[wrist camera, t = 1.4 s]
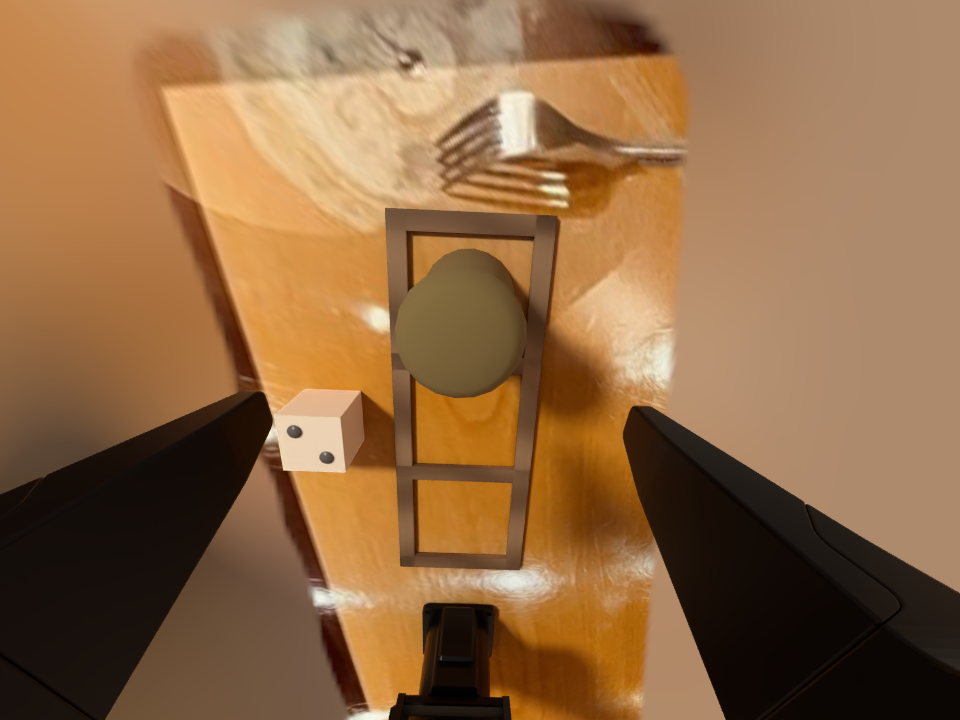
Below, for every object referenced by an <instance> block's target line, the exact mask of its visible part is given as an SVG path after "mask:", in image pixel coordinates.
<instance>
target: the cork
mask: <svg viewBox="0 0 960 720" xmlns="http://www.w3.org/2000/svg"><path fill="white" fill-rule="evenodd" d="M395 335H396V342H397V350H398V353H399V355H400V357H401V360H402V362H403V364H404V366H405V368H406V370H407V371H408V372H409V373H410V374H411V375H412V376H413V377H414V378H415V379H416V380H417V382H418V383H419V384H421V385H423V386H424V387H426V388H428V389H430V390H431V391H433V392H435V393H437V394H441V395H445V396H449V397H453V398H467V397H476V396H479V395H482V394H485V393H488V392H491V391H493V390H494V389H496V388H497V387H498V386H500V385H501V384H502V383H504V382H505V381H507V380H508V379H509V377H510V376H511V374H512V373H513V372H514V370H515V369H516V368H517V366H518V365H519V363H520V361H521V358H522V355H523V352H524V349H525V346H526V343H527V322H526V319H525V316H524V313H523V310H522V307H521V304H520V302H519V301H518V299H517V298H516V297H515V287H514V284H513V281H512V279H511V276H510V273H509V272H508V271H507V269H506V268H505V267H504V265H503V264H502V263H501V261H499V260H498V259H496V258H495V257H493V256H492V255H490V254H489V253H487V252H483V251H480V250H476V249H460V250H456V251H454V252H451V253H449V254H446V255H444V256H443V257H442V258H441V259H439V260H438V261H437V262H436V263H435V264H434V265H433V266H432V268H431V269H430V271H429V273H428V275H427V276H426V277H425V278H423V279H422V280H421V281H420V282H419V283H418V284H416V285H415V286H414V287H413V288H412V289H410V290H409V292H408V294H407V295H406V297H405V299H404V301H403V302H402V304H401V306H400V307H399V311H398V316H397V321H396V326H395Z"/></svg>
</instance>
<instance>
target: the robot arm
mask: <svg viewBox="0 0 960 720" xmlns="http://www.w3.org/2000/svg"><path fill="white" fill-rule="evenodd" d="M272 423H273V418H272V414H271V411H270V408H269V405H268V402H267V399H266V396H265V394H264V393H263V392H261V391H253V390H244V391H241V392H238V393H236V394H234V395H231V396H229V397H227V398H224V399H222V400H220V401H218V402H215V403H213V404H210V405H208V406H206V407H203V408H201V409H199V410H196V411H194V412H192V413H189V414H187V415H185V416H183V417H180V418H178V419H175V420H173V421H171V422H168V423H166V424H164V425H161V426H159V427H157V428H154V429H152V430H150V431H147V432H145V433H143V434H140V435H138V436H136V437H133V438H131V439H129V440H126V441H124V442H122V443H119V444H117V445H115V446H112V447H110V448H108V449H105V450H103V451H101V452H98V453H96V454H94V455H92V456H89V457H87V458H84V459H82V460H80V461H78V462H75V463H73V464H70V465H68V466H66V467H63V468H61V469H59V470H57V471H54V472H52V473H49V474H48V475H46V476H45V477H40V478H37V479H35V480H33V481H30V482H28V483H26V484H23V485H21V486H19V487H16V488H14V489H12V490H10V491H7V492H5V493H2V494H0V720H105V719H106V717H107V715H108V714H109V712H110V710H111V709H112V707H113V705H114V704H115V702H116V700H117V699H118V697H119V695H120V694H121V692H122V690H123V689H124V687H125V685H126V684H127V682H128V680H129V678H130V677H131V675H132V673H133V672H134V670H135V668H136V667H137V665H138V663H139V662H140V660H141V658H142V657H143V655H144V653H145V652H146V650H147V648H148V646H149V645H150V643H151V641H152V640H153V638H154V636H155V635H156V633H157V631H158V630H159V628H160V626H161V625H162V623H163V621H164V620H165V618H166V616H167V615H168V613H169V611H170V610H171V608H172V606H173V604H174V603H175V601H176V599H177V598H178V596H179V594H180V593H181V591H182V589H183V588H184V586H185V584H186V582H187V581H188V579H189V578H190V576H191V574H192V572H193V571H194V569H195V567H196V566H197V564H198V562H199V561H200V559H201V557H202V556H203V554H204V552H205V551H206V549H207V547H208V546H209V544H210V542H211V541H212V539H213V537H214V536H215V534H216V532H217V530H218V529H219V527H220V525H221V523H222V522H223V520H224V519H225V517H226V515H227V514H228V512H229V510H230V509H231V507H232V505H233V504H234V502H235V500H236V499H237V497H238V495H239V493H240V492H241V490H242V488H243V486H244V485H245V483H246V481H247V479H248V477H249V475H250V473H251V471H252V469H253V466H254V464H255V462H256V460H257V458H258V456H259V453H260V451H261V449H262V447H263V445H264V443H265V440H266V438H267V436H268V434H269V432H270V430H271V427H272ZM623 441H624V445H625V448H626V452H627V456H628V460H629V463H630V467H631V471H632V474H633V478H634V482H635V486H636V489H637V493H638V496H639V499H640V501H641V504H642V507H643V509H644V512H645V515H646V517H647V520H648V522H649V525H650V527H651V530H652V532H653V535H654V538H655V540H656V543H657V545H658V548H659V550H660V553H661V555H662V558H663V561H664V563H665V566H666V568H667V571H668V573H669V576H670V578H671V581H672V584H673V586H674V589H675V591H676V594H677V596H678V599H679V602H680V604H681V607H682V609H683V612H684V614H685V617H686V619H687V622H688V625H689V627H690V630H691V632H692V635H693V637H694V640H695V642H696V645H697V647H698V650H699V653H700V655H701V658H702V660H703V663H704V665H705V668H706V671H707V673H708V676H709V678H710V681H711V683H712V686H713V688H714V691H715V694H716V696H717V699H718V701H719V704H720V706H721V709H722V712H723V714H724V717H725V719H726V720H960V593H959V592H957V591H955V590H954V589H952V588H950V587H948V586H947V585H945V584H943V583H941V582H939V581H938V580H936V579H934V578H932V577H930V576H929V575H927V574H925V573H923V572H922V571H920V570H918V569H916V568H915V567H913V566H911V565H909V564H908V563H906V562H904V561H902V560H900V559H899V558H897V557H895V556H894V555H892V554H890V553H888V552H887V551H885V550H883V549H882V548H880V547H878V546H876V545H874V544H873V543H871V542H869V541H868V540H866V539H864V538H862V537H861V536H859V535H858V534H856V533H854V532H853V531H851V530H849V529H848V528H846V527H844V526H843V525H841V524H839V523H838V522H836V521H835V520H833V519H831V518H830V517H828V516H826V515H825V514H823V513H822V512H820V511H818V510H817V509H815V508H814V507H812V506H810V505H808V504H806V505H805V503H804V501H802V500H801V499H799V498H797V497H796V496H794V495H793V494H791V493H789V492H788V491H786V490H784V489H783V488H781V487H780V486H778V485H776V484H775V483H773V482H772V481H770V480H768V479H767V478H765V477H764V476H762V475H760V474H759V473H757V472H756V471H754V470H752V469H751V468H749V467H747V466H746V465H744V464H743V463H741V462H739V461H738V460H736V459H735V458H733V457H731V456H730V455H728V454H726V453H725V452H723V451H722V450H720V449H719V448H717V447H715V446H714V445H712V444H710V443H709V442H707V441H706V440H704V439H702V438H701V437H699V436H698V435H696V434H694V433H693V432H691V431H690V430H688V429H686V428H685V427H683V426H682V425H680V424H678V423H677V422H675V421H674V420H672V419H670V418H669V417H667V416H666V415H664V414H662V413H661V412H659V411H657V410H656V409H654V408H653V407H651V406H639V405H635V406H633V407H632V408H631V409H630V412H629V415H628V418H627V421H626V424H625V427H624V431H623ZM494 617H495V610H494V607H492V606H481V605H450V604H426V605H424V606H423V654H424V660H423V667H422V675H421V682H420V690H419V695H406V693H399V694H398V698H397V703H396V705H394V706H393V707H391V709H390V715H389V720H511V710H510V700H509V696H502V697H490V671H489V658H490V657H491V655H492V642H493V630H494Z"/></svg>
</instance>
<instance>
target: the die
mask: <svg viewBox="0 0 960 720" xmlns="http://www.w3.org/2000/svg"><path fill="white" fill-rule="evenodd" d="M274 418H275V424H276V429H277V435H278V441H279V447H280V453H281V459H282V465H283V470H291V471H318V472H346V471H347V469H348V468H349V466H350V464H351V462H352V461H353V459H354V457H355V455H356V454H357V452H358V450H359V448H360V447H361V445H362V443H363V441H364V440H365V438H364V425H363V411H362V398H361V391H351V390H327V389H304V390H303V391H301V392H300V393H299V394H298V395H297V396H296V397H294V398H293V399H292V400H291V401H290V402H289V403H287V404H286V405H285V406H284V407H283V408H282V409H280V410H279V411H278V412H277V413H276V414H275V415H274Z"/></svg>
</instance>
